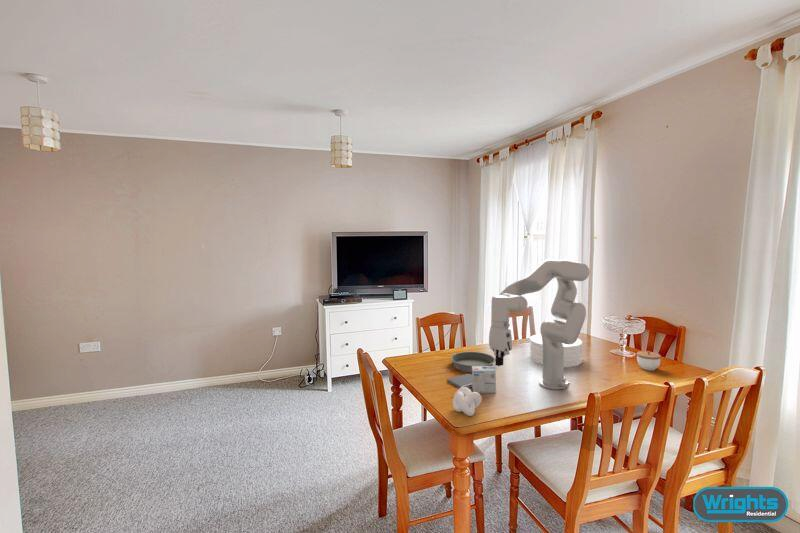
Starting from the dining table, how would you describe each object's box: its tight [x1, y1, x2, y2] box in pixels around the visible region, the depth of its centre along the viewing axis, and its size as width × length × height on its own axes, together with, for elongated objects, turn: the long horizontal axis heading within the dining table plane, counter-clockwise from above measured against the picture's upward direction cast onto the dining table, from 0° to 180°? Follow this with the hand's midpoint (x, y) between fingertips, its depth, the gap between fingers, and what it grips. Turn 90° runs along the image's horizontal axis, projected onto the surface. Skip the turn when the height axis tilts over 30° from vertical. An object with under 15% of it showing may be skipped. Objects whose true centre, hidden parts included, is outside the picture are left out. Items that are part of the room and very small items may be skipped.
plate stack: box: [529, 333, 583, 368], centre depth 220 cm, size 28×28×12 cm
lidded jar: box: [636, 350, 662, 371], centre depth 201 cm, size 11×11×9 cm
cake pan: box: [450, 351, 496, 373], centre depth 212 cm, size 25×25×4 cm
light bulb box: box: [471, 365, 497, 394], centre depth 178 cm, size 11×7×11 cm, turn 84°
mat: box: [446, 373, 472, 389], centre depth 188 cm, size 12×14×1 cm
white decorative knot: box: [452, 387, 482, 417], centre depth 157 cm, size 11×12×9 cm
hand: (499, 365), depth 167 cm, fingers closed
